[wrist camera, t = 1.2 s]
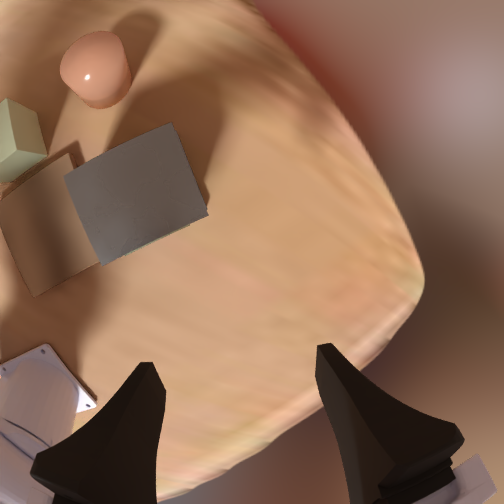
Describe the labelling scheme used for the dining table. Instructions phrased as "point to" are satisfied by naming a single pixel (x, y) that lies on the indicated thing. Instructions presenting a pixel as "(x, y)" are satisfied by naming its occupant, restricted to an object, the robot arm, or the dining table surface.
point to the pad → (46, 229)
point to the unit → (136, 193)
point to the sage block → (19, 140)
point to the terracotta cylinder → (97, 69)
